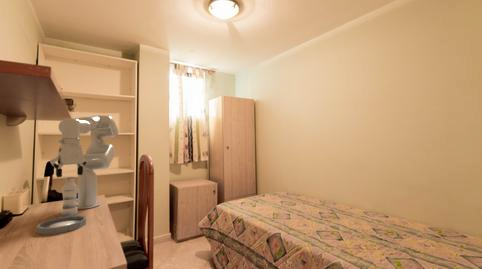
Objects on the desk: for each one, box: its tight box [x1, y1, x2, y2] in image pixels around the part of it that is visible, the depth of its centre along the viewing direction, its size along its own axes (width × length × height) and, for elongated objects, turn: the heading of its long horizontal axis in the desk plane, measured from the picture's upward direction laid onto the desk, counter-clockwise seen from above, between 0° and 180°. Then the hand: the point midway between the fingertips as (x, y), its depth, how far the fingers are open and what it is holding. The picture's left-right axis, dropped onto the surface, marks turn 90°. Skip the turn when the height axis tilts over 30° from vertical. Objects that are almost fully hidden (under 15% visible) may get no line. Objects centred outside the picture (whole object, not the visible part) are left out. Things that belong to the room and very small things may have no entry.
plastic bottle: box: [61, 176, 79, 217], centre depth 117 cm, size 6×7×20 cm
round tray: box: [36, 214, 87, 236], centre depth 102 cm, size 17×17×2 cm
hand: (69, 175), depth 117 cm, fingers open, 9 cm apart
